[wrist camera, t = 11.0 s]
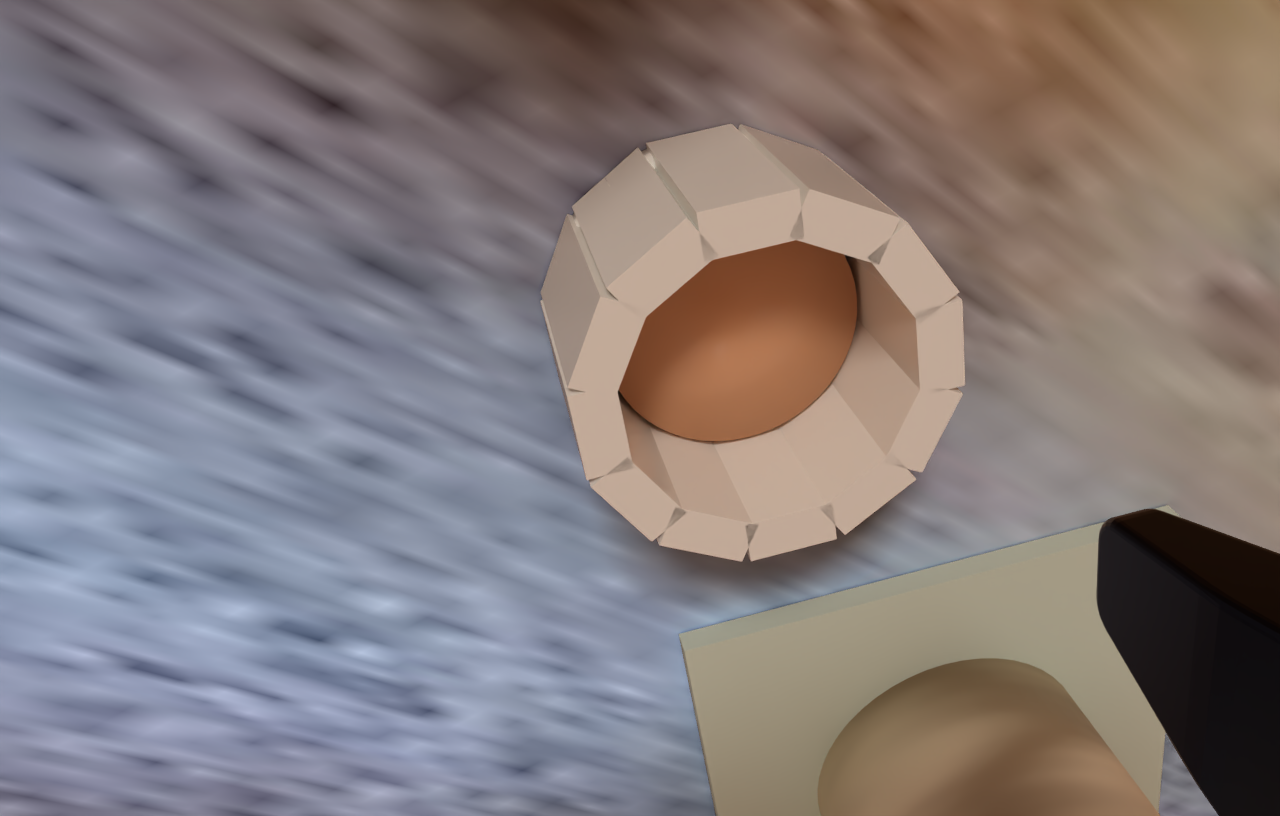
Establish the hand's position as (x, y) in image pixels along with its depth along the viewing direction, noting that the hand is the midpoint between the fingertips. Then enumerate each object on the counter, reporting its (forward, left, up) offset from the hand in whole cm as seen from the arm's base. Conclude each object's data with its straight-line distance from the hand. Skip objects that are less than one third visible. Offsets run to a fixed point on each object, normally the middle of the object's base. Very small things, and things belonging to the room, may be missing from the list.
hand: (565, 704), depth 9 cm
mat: (-8, +17, -13) cm, 23 cm away
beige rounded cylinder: (-8, +17, -12) cm, 23 cm away
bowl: (-4, +3, -13) cm, 14 cm away
